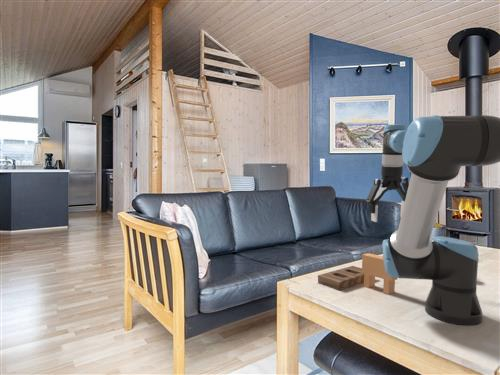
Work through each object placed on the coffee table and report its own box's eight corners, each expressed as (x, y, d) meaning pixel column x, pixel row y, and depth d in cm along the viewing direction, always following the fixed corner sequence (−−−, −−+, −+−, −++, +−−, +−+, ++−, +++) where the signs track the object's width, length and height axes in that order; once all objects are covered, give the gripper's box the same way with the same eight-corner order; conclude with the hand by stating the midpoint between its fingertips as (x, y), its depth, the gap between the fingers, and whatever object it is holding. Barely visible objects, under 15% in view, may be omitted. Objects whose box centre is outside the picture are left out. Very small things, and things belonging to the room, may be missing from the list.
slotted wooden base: (338, 290, 125) (339, 282, 125) (317, 282, 133) (318, 275, 133) (373, 278, 138) (373, 271, 138) (352, 272, 146) (352, 265, 146)
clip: (397, 292, 123) (398, 259, 122) (391, 295, 120) (392, 261, 120) (367, 283, 132) (368, 253, 132) (361, 285, 130) (362, 254, 129)
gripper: (412, 162, 137) (408, 214, 141) (357, 166, 130) (355, 219, 134) (426, 165, 130) (422, 218, 134) (370, 168, 123) (367, 225, 127)
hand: (388, 219), depth 134 cm, fingers open, 13 cm apart
